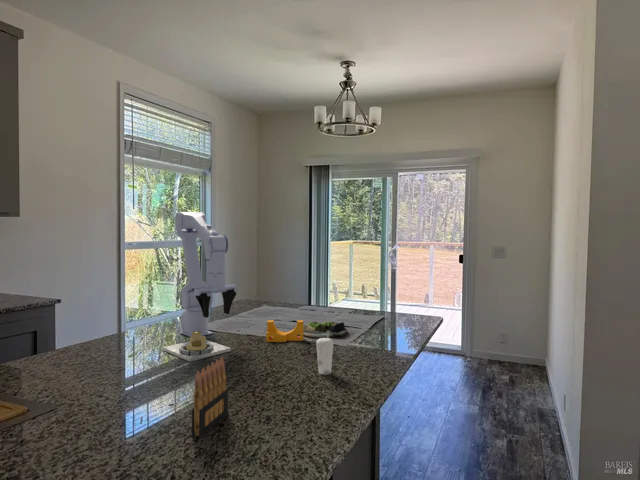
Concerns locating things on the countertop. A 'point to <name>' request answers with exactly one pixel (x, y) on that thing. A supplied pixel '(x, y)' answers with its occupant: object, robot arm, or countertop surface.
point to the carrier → (188, 355)
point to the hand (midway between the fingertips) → (216, 315)
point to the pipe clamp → (284, 333)
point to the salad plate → (324, 329)
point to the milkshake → (324, 354)
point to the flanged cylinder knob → (196, 342)
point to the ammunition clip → (209, 398)
